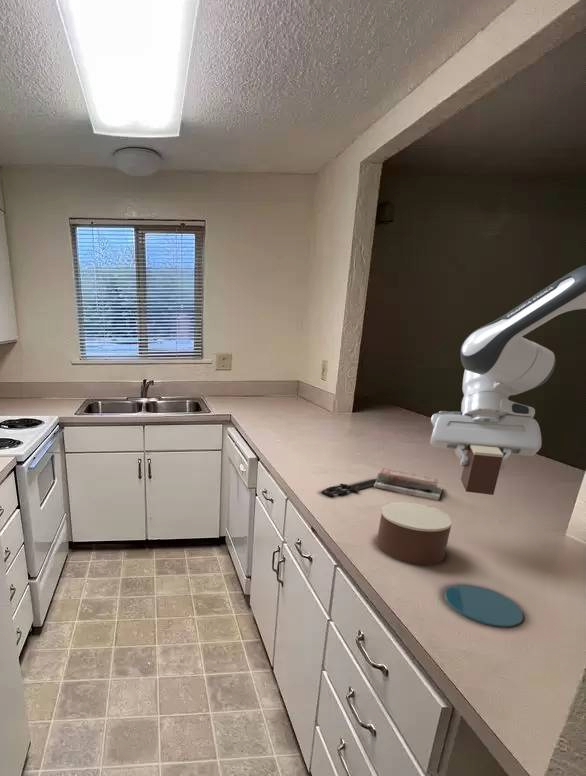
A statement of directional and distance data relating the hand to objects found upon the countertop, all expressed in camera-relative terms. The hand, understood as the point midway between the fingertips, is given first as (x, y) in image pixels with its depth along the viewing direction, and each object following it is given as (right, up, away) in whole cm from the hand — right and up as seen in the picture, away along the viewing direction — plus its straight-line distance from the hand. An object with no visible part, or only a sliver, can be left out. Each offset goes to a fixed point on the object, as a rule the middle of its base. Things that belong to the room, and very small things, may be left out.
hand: (482, 467), depth 94 cm
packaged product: (+5, -6, +40) cm, 41 cm away
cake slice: (0, -4, +2) cm, 5 cm away
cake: (-12, -19, +7) cm, 24 cm away
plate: (-9, -26, -13) cm, 31 cm away
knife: (-11, -6, +42) cm, 44 cm away
